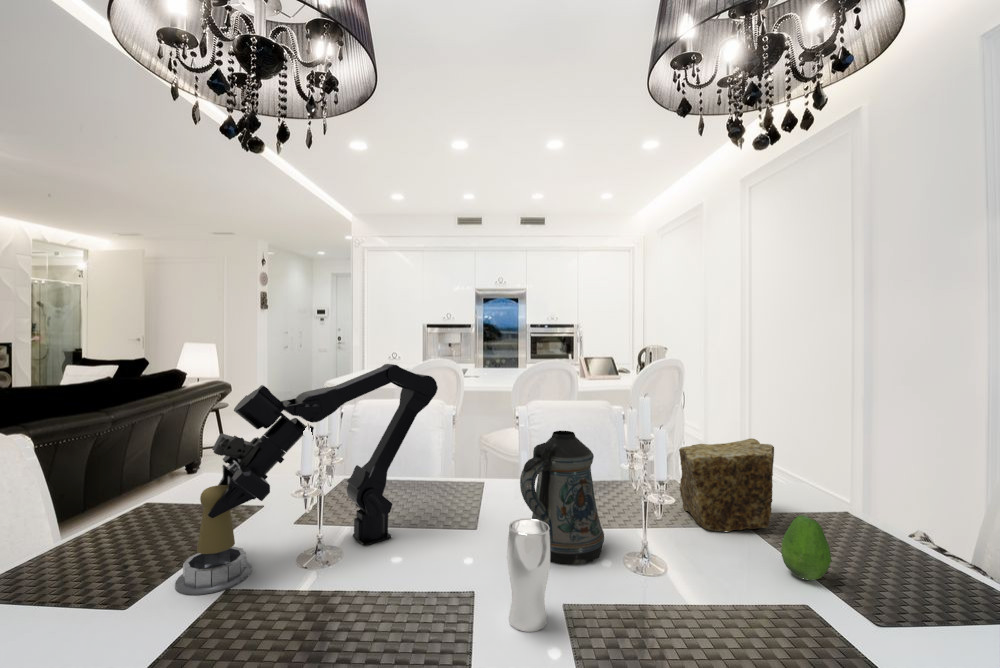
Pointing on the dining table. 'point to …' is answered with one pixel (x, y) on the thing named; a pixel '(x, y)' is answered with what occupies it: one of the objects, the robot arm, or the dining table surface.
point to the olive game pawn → (214, 524)
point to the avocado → (806, 549)
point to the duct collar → (213, 572)
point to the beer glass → (528, 572)
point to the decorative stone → (728, 484)
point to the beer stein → (564, 498)
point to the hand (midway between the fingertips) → (208, 512)
